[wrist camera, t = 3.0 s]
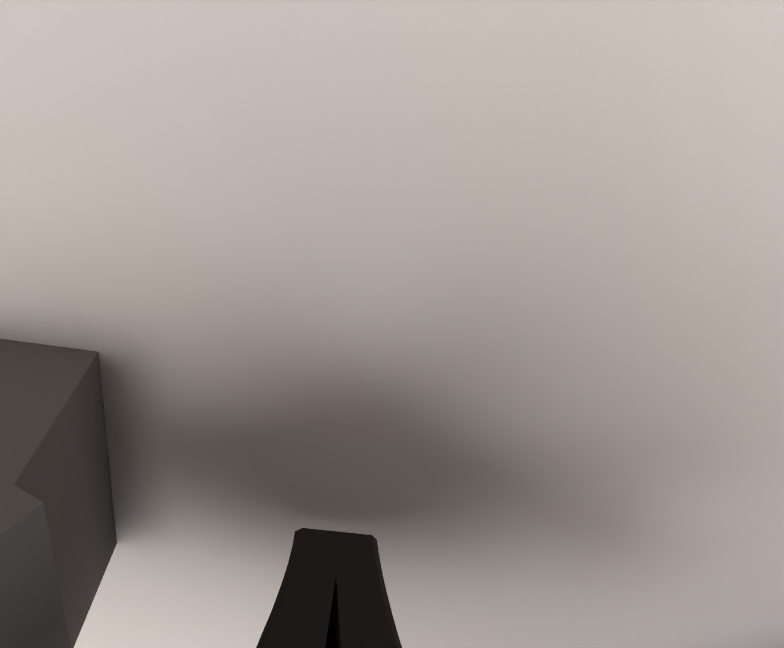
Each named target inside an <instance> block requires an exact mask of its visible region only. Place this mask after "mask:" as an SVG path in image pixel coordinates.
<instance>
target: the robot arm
mask: <svg viewBox="0 0 784 648" xmlns="http://www.w3.org/2000/svg"><path fill="white" fill-rule="evenodd" d="M256 648H402V646H401V643H400V640H399V636H398V633H397V630H396V626H395V623H394V619H393V615H392V611H391V608H390V604H389V600H388V596H387V592H386V588H385V583H384V579H383V574H382V569H381V564H380V558H379V553H378V546H377V540H376V539H375V538H374V537H373V536H372V535H365V534H356V533H346V532H336V531H326V530H317V529H307V528H301V529H299V530H297V531H295V535H294V540H293V546H292V550H291V554H290V558H289V562H288V565H287V569H286V572H285V575H284V578H283V581H282V584H281V587H280V590H279V593H278V595H277V598H276V601H275V604H274V606H273V609H272V611H271V614H270V616H269V619H268V621H267V623H266V626H265V628H264V630H263V633H262V635H261V638H260V640H259V642H258V645H257V647H256Z"/></svg>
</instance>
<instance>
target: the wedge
mask: <svg viewBox="0 0 784 648" xmlns="http://www.w3.org/2000/svg"><path fill="white" fill-rule="evenodd" d="M116 544H117V543H116V532H115V522H114V511H113V501H112V490H111V480H110V469H109V459H108V448H107V438H106V427H105V417H104V406H103V396H102V385H101V375H100V365H99V354H98V352H95V351H88V350H80V349H73V348H65V347H57V346H50V345H42V344H35V343H27V342H19V341H12V340H4V339H0V648H74V645H75V643H76V640H77V638H78V635H79V633H80V631H81V628H82V626H83V623H84V621H85V619H86V616H87V614H88V611H89V609H90V606H91V604H92V602H93V599H94V597H95V594H96V592H97V590H98V587H99V585H100V582H101V580H102V577H103V575H104V573H105V570H106V568H107V565H108V563H109V561H110V558H111V556H112V553H113V551H114V548H115V546H116Z"/></svg>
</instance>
